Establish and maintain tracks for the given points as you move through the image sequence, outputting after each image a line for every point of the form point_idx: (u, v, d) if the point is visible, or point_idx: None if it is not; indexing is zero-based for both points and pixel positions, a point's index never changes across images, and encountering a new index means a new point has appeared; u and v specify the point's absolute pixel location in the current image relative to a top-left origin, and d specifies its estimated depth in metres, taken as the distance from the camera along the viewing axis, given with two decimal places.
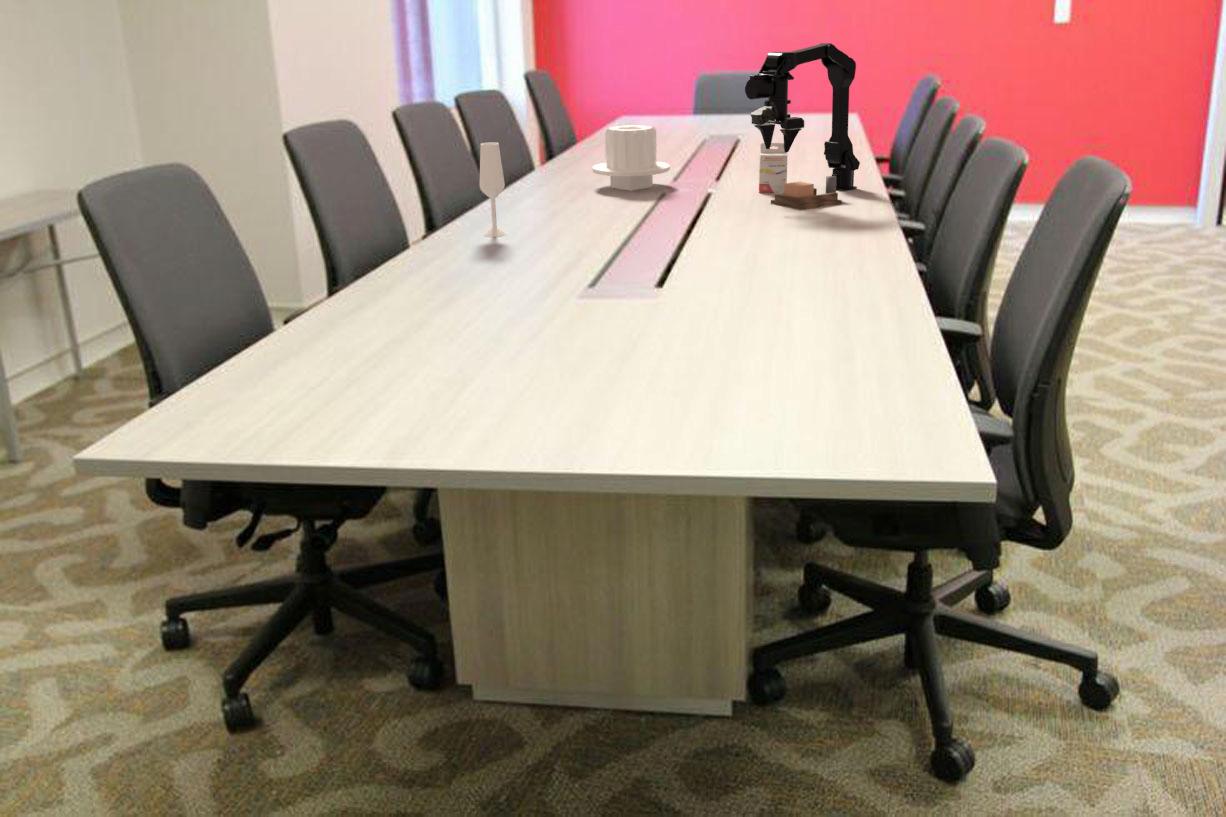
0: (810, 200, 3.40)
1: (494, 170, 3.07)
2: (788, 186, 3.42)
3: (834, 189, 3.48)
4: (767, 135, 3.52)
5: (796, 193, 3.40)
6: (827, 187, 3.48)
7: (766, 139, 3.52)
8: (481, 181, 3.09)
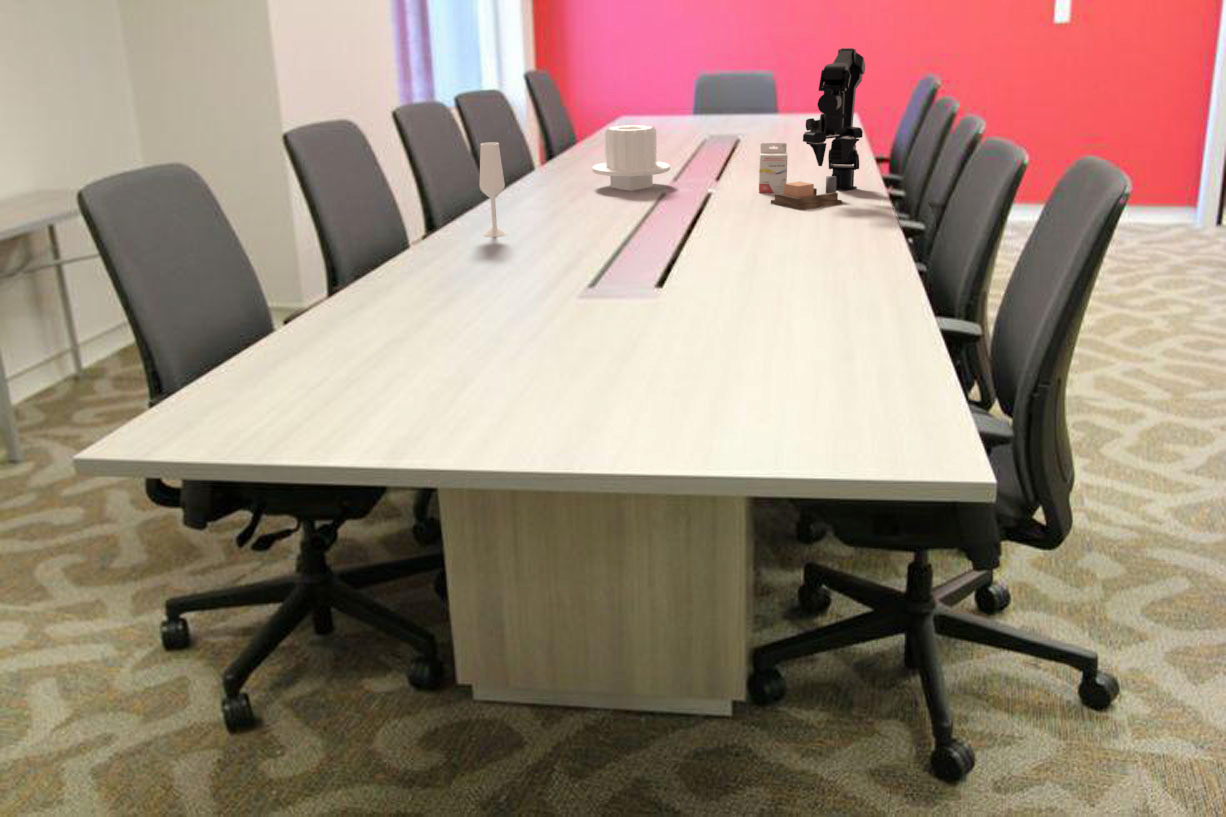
0: (810, 200, 3.40)
1: (494, 170, 3.07)
2: (788, 186, 3.42)
3: (834, 189, 3.48)
4: (844, 149, 3.48)
5: (796, 193, 3.40)
6: (827, 187, 3.48)
7: (842, 152, 3.49)
8: (481, 181, 3.09)
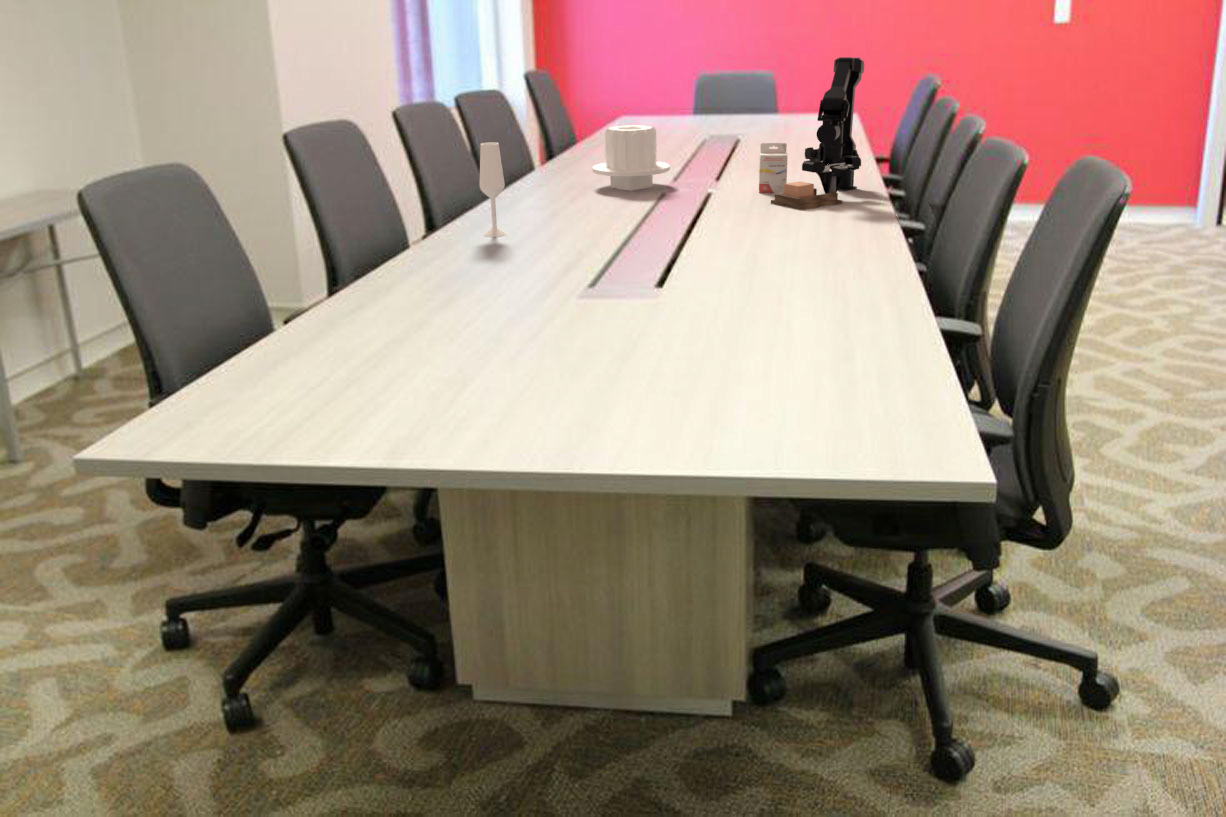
0: (810, 200, 3.40)
1: (494, 170, 3.07)
2: (788, 186, 3.42)
3: (834, 189, 3.48)
4: None
5: (796, 193, 3.40)
6: None
7: None
8: (481, 181, 3.09)
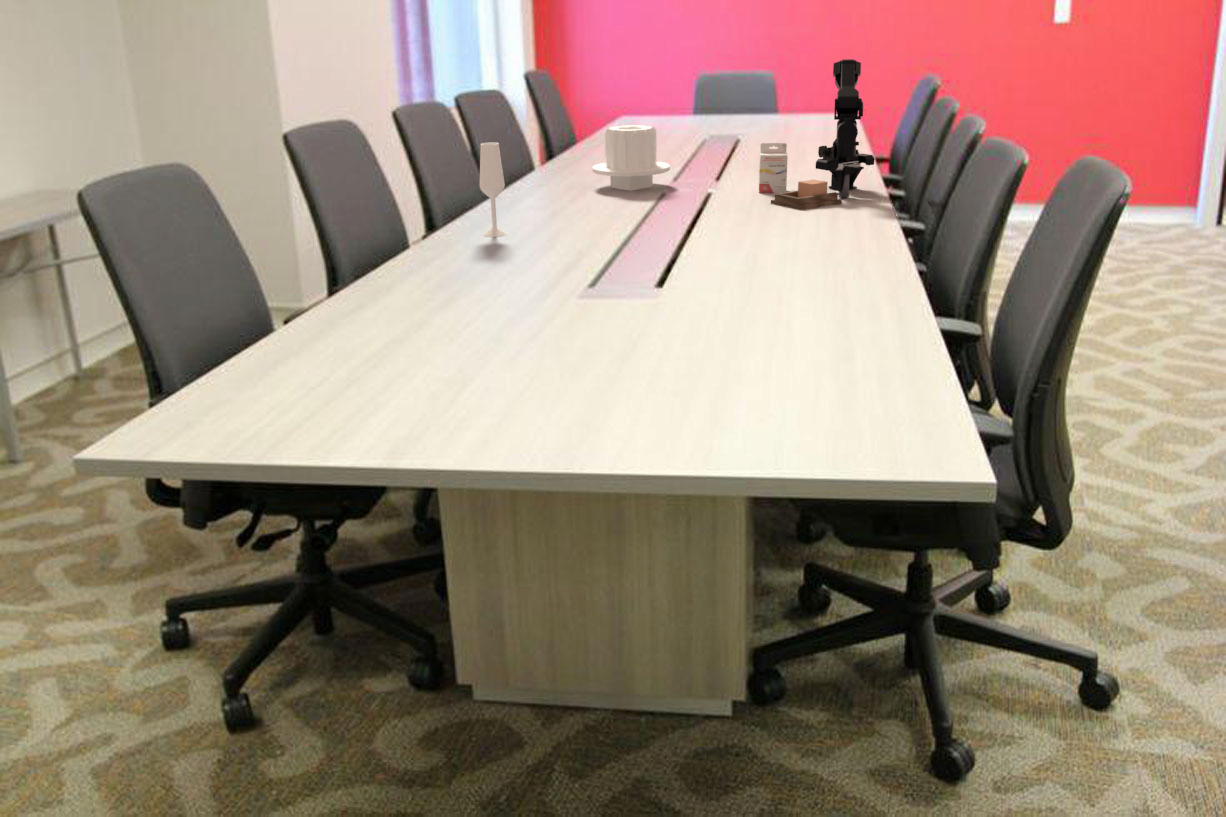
0: (810, 200, 3.40)
1: (494, 170, 3.07)
2: (802, 184, 3.45)
3: (847, 187, 3.51)
4: None
5: (810, 191, 3.42)
6: None
7: None
8: (481, 181, 3.09)
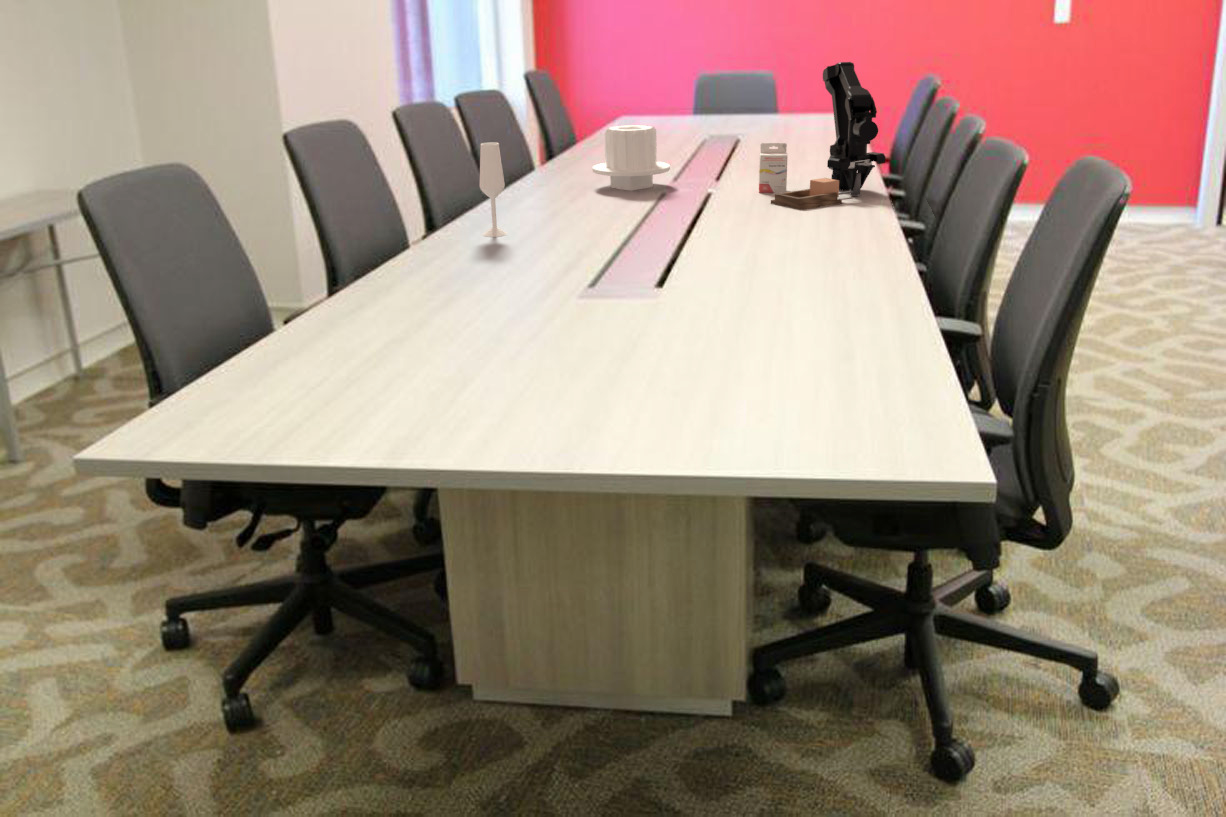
0: (810, 200, 3.40)
1: (494, 170, 3.07)
2: (814, 182, 3.47)
3: (859, 185, 3.53)
4: None
5: (822, 189, 3.45)
6: None
7: None
8: (481, 181, 3.09)
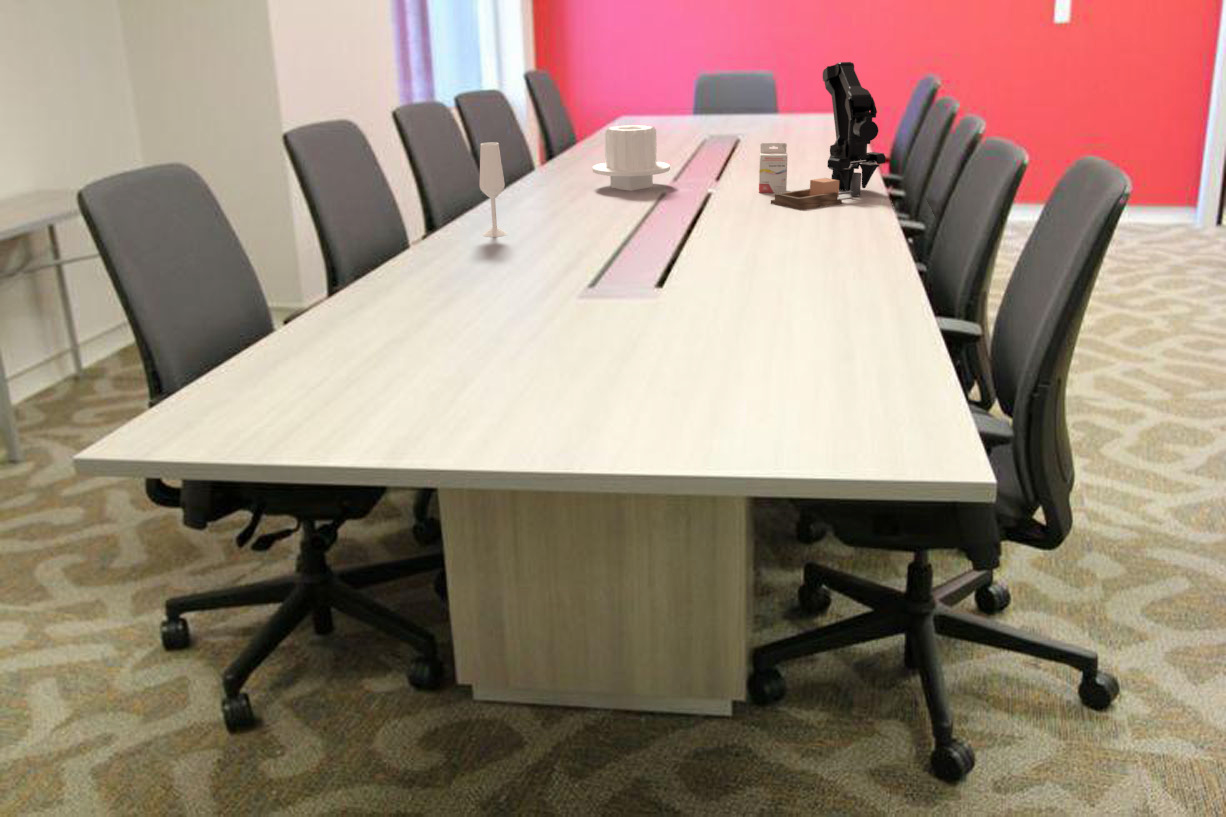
0: (810, 200, 3.40)
1: (494, 170, 3.07)
2: (814, 182, 3.47)
3: (859, 185, 3.53)
4: (864, 174, 3.55)
5: (822, 189, 3.45)
6: (852, 183, 3.53)
7: (862, 178, 3.56)
8: (481, 181, 3.09)
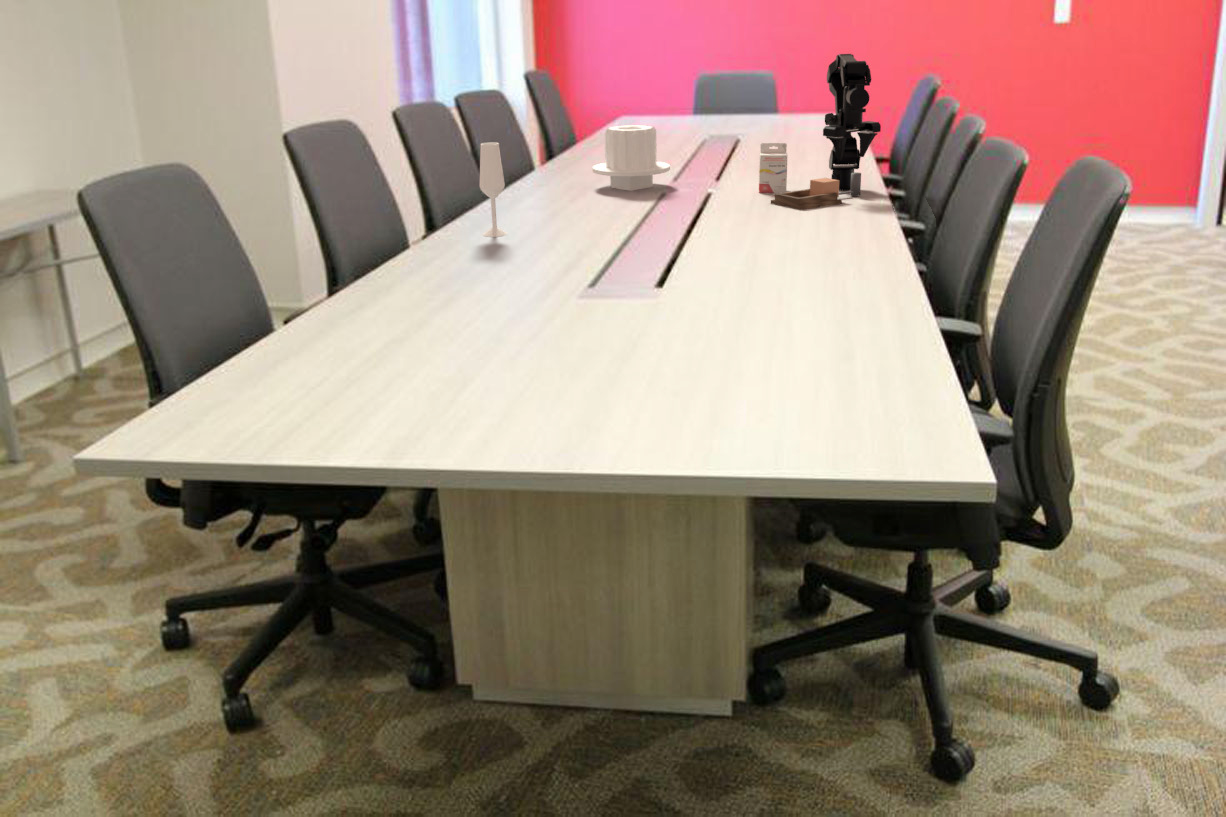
0: (810, 200, 3.40)
1: (494, 170, 3.07)
2: (814, 182, 3.47)
3: (859, 185, 3.53)
4: (862, 143, 3.53)
5: (822, 189, 3.45)
6: (852, 183, 3.53)
7: (860, 147, 3.54)
8: (481, 181, 3.09)
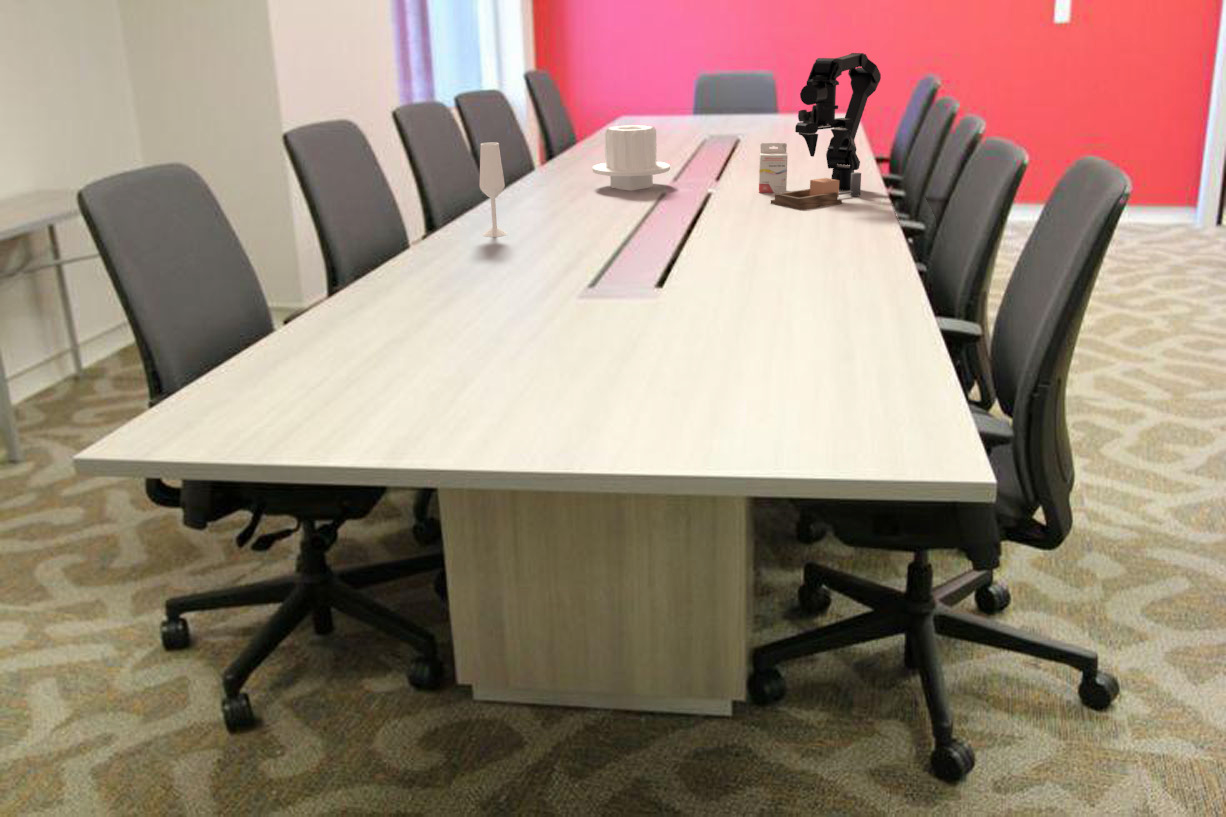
0: (810, 200, 3.40)
1: (494, 170, 3.07)
2: (814, 182, 3.47)
3: (859, 185, 3.53)
4: (835, 140, 3.56)
5: (822, 189, 3.45)
6: (852, 183, 3.53)
7: (834, 143, 3.57)
8: (481, 181, 3.09)
